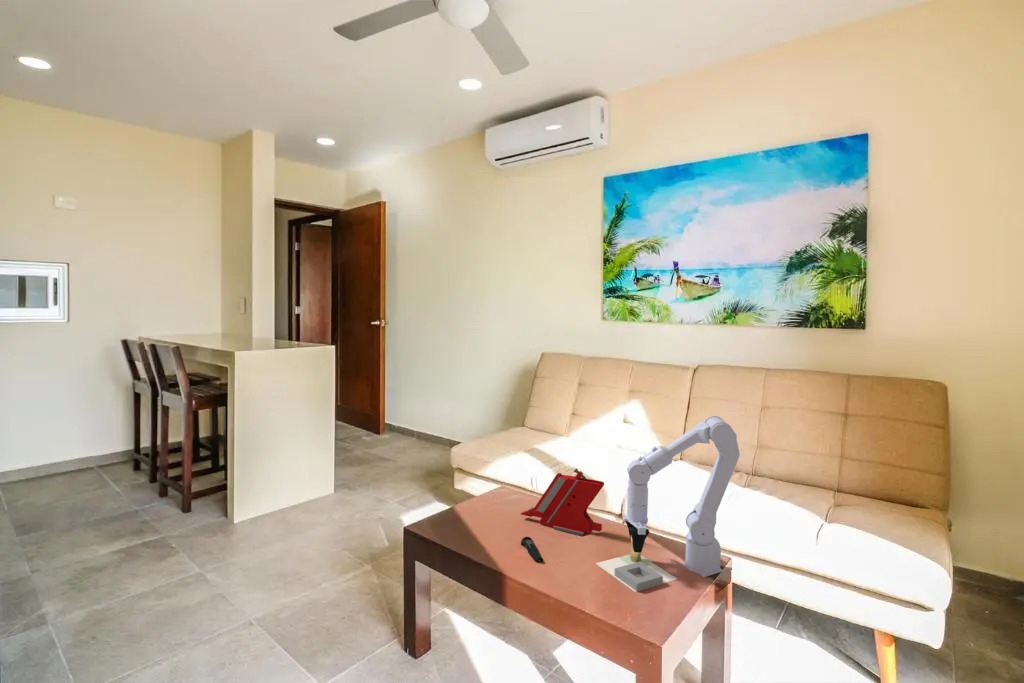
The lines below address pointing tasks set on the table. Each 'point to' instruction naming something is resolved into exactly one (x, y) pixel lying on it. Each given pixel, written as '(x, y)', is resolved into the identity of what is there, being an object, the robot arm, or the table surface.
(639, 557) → the brass cylinder
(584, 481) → the tool
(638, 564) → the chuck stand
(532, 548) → the electric trimmer
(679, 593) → the table surface
